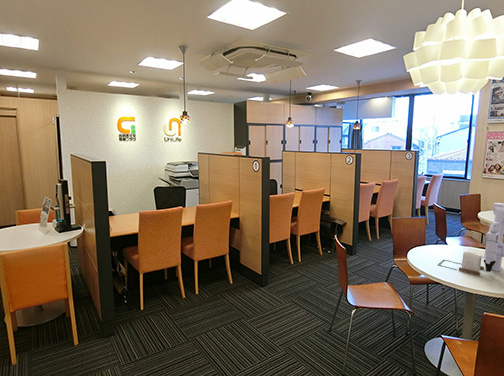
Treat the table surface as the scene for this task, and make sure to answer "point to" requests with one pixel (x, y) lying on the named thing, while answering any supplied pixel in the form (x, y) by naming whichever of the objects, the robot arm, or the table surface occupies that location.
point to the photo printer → (471, 261)
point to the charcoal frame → (445, 266)
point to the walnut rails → (471, 270)
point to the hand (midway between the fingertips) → (488, 271)
